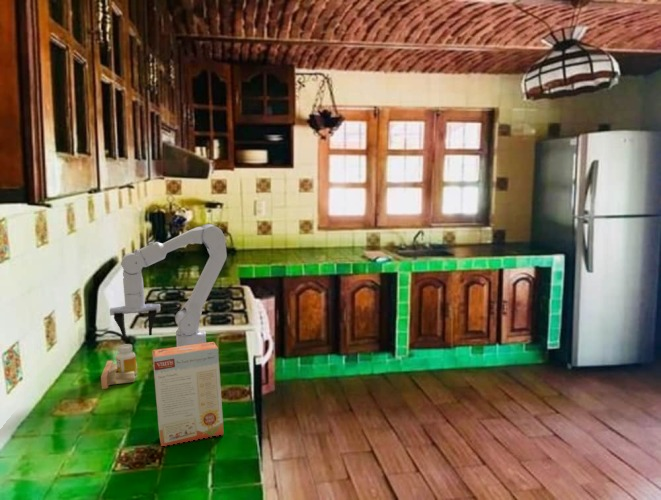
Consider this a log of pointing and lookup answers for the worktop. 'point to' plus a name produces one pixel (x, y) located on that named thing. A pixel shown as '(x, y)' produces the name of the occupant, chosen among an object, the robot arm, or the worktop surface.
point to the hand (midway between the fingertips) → (137, 335)
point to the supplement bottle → (126, 359)
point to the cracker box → (188, 393)
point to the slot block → (120, 376)
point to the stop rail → (106, 374)
